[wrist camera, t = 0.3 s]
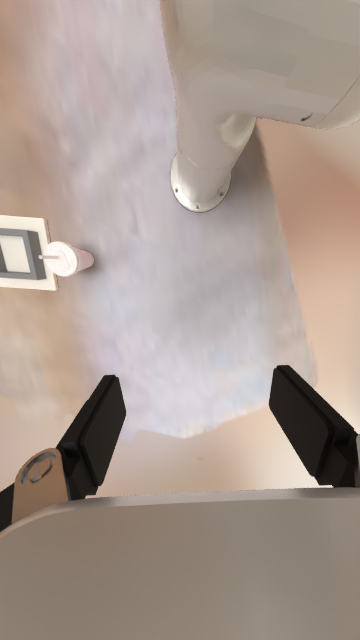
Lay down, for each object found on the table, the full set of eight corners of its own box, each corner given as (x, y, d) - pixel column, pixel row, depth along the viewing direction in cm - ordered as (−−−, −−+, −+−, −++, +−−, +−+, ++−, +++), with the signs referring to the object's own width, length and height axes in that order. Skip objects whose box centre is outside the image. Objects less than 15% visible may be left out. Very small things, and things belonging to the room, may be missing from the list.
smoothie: (83, 238, 40) (37, 229, 27) (105, 260, 42) (70, 261, 28) (67, 258, 41) (15, 258, 28) (88, 278, 43) (48, 287, 30)
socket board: (-17, 214, 38) (-39, 209, 35) (46, 219, 39) (32, 215, 35) (3, 286, 44) (-14, 288, 40) (58, 289, 44) (47, 292, 40)
